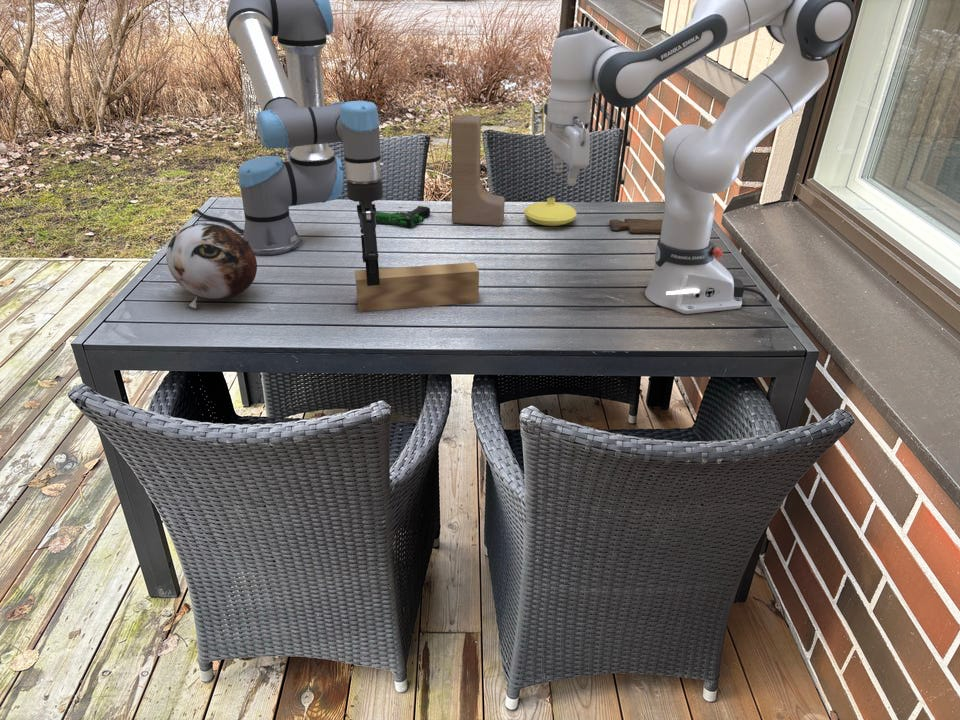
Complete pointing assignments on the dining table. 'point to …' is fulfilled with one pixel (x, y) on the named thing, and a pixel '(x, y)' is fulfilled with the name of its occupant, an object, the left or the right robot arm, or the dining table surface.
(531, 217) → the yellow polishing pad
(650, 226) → the dark wooden board
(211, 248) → the cat face balloon
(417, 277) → the bar
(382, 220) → the handgun
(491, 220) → the decorative block
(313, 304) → the dining table surface
